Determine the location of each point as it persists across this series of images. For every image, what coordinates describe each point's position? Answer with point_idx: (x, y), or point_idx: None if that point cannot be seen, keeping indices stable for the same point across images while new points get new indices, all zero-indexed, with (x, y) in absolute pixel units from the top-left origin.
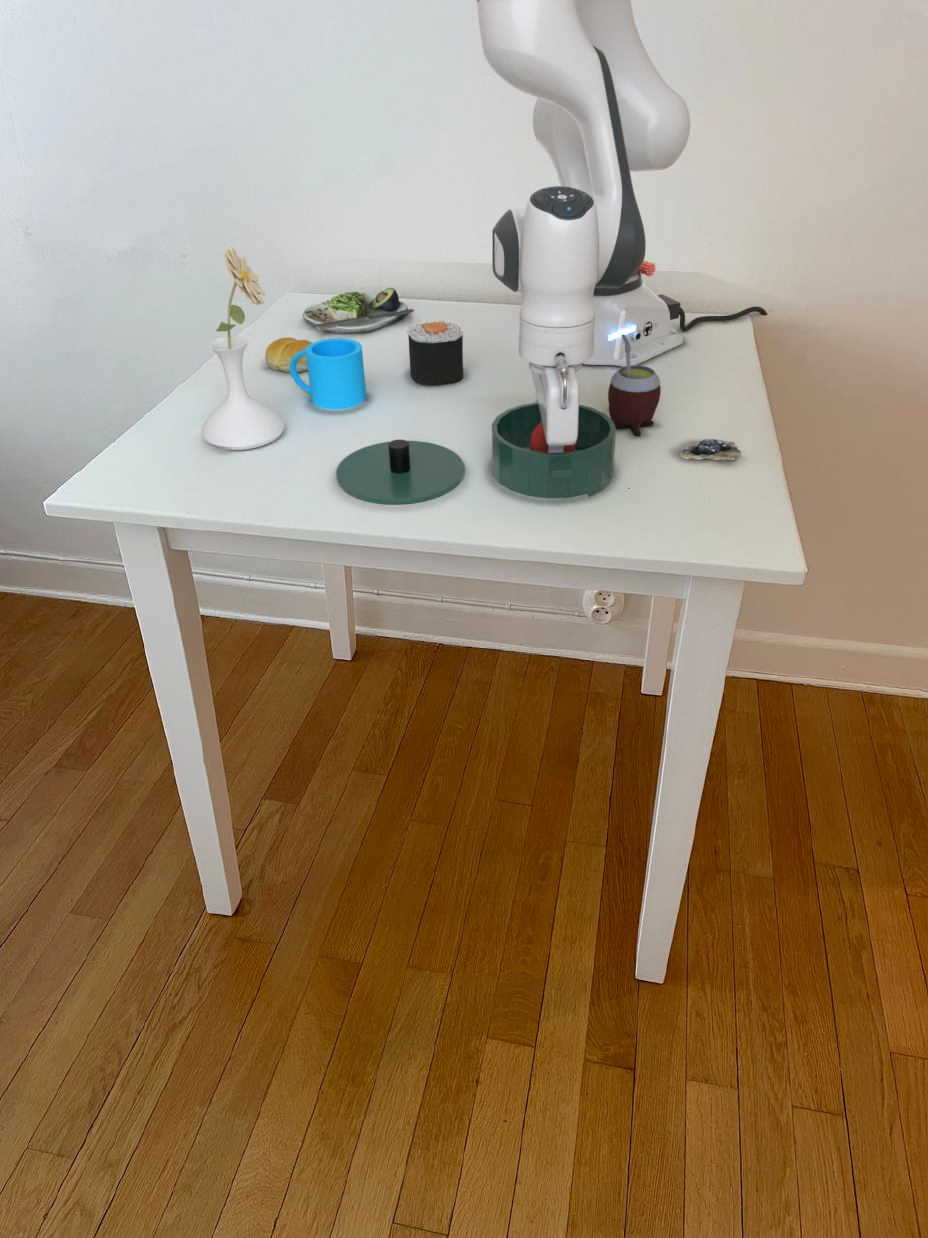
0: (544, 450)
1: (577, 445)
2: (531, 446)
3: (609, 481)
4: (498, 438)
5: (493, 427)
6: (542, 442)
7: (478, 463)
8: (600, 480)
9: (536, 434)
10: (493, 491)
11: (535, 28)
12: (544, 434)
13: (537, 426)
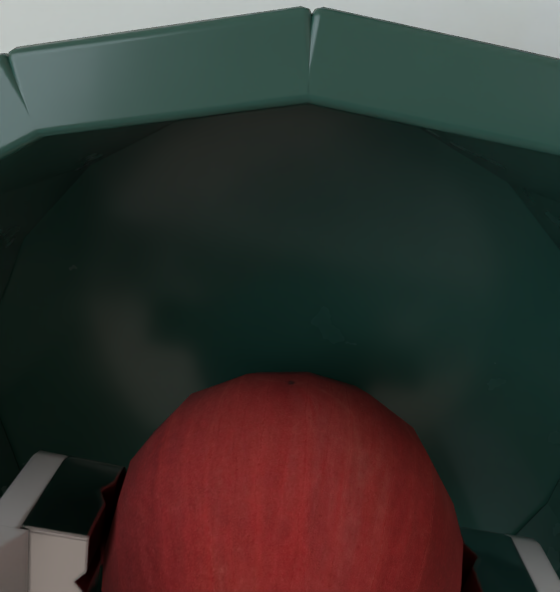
0: (134, 469)
1: None
2: (266, 400)
3: None
4: (92, 52)
5: (500, 73)
6: (146, 505)
7: (556, 16)
8: None
9: (240, 513)
10: (136, 23)
11: None
12: (156, 580)
13: (336, 577)
